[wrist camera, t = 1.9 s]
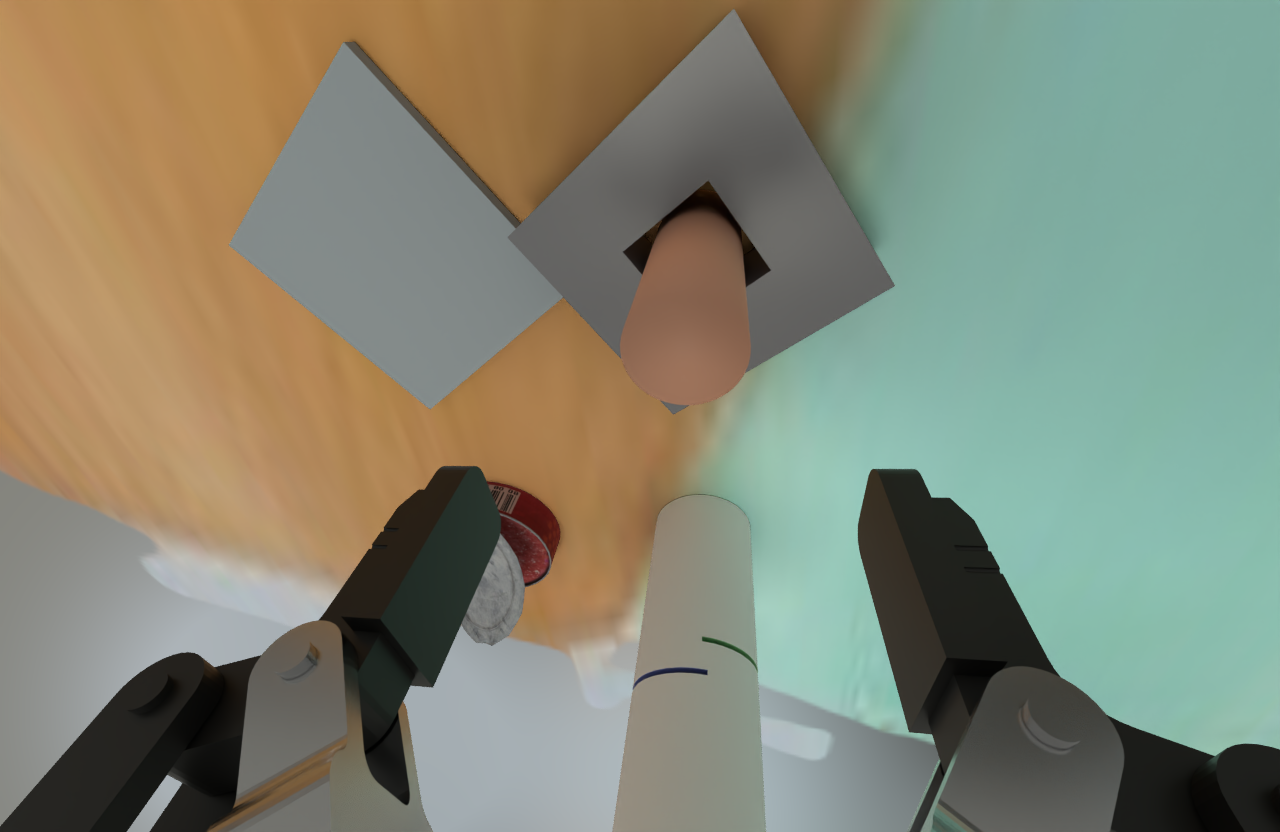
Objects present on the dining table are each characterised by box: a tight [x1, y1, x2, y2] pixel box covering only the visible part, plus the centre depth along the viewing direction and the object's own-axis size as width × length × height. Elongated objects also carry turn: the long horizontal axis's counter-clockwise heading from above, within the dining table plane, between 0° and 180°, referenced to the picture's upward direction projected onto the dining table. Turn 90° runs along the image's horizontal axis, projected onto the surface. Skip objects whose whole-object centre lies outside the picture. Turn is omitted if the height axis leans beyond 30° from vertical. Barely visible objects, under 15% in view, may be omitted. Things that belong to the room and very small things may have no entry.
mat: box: [229, 42, 563, 409], centre depth 27 cm, size 14×14×1 cm
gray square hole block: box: [507, 9, 895, 414], centre depth 23 cm, size 12×12×4 cm
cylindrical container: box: [613, 495, 766, 832], centre depth 28 cm, size 7×7×25 cm
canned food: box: [461, 482, 560, 646], centre depth 39 cm, size 11×10×10 cm
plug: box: [620, 190, 751, 405], centre depth 20 cm, size 4×4×12 cm
